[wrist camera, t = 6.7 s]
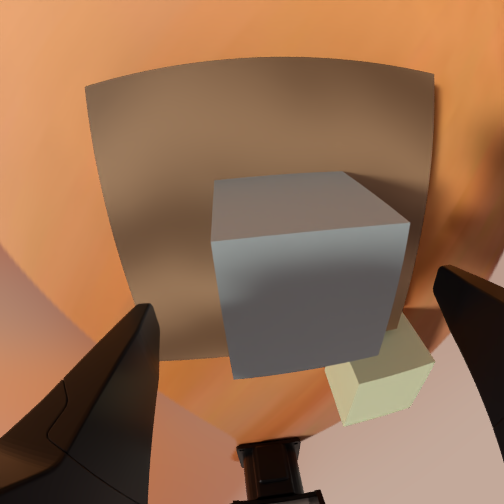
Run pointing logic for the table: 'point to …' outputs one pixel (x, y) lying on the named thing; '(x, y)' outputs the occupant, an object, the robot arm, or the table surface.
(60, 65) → the table surface
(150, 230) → the walnut base
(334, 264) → the slate block
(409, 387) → the sage block
